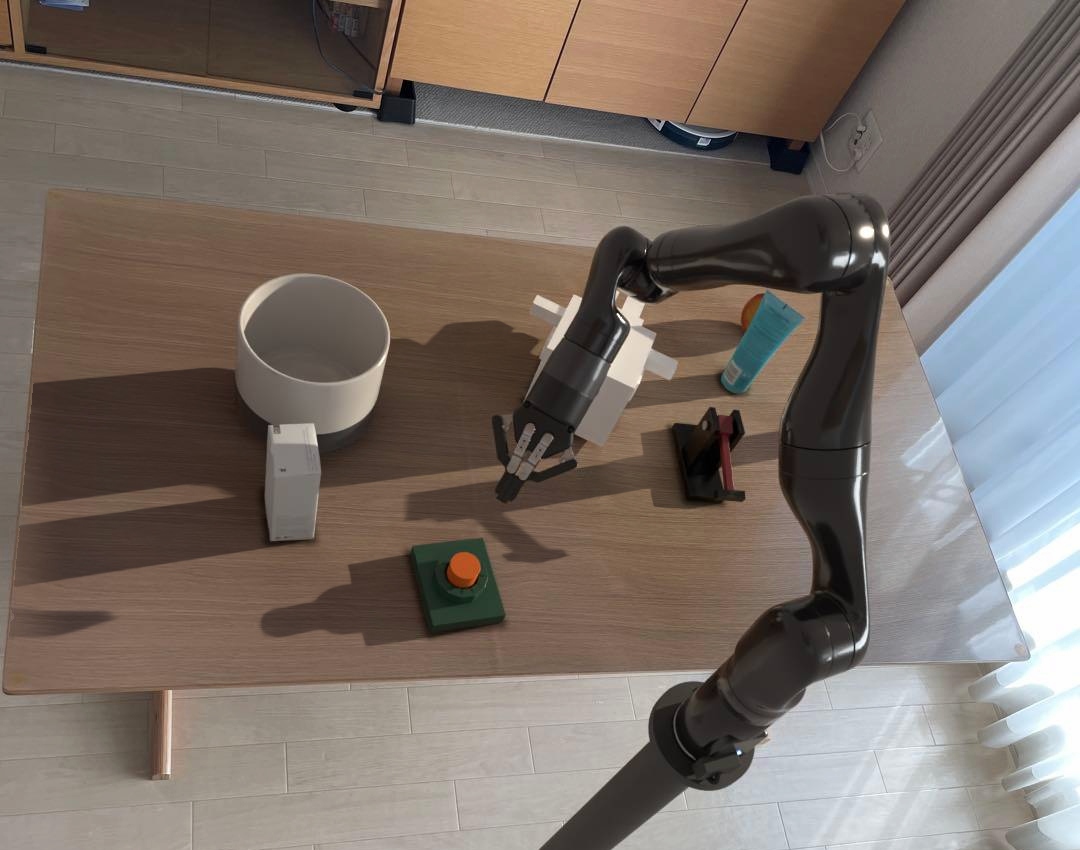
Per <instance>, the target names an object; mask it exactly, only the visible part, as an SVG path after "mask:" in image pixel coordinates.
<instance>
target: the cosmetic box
mask: <svg viewBox="0 0 1080 850" xmlns="http://www.w3.org/2000/svg"><path fill="white" fill-rule="evenodd" d="M321 476H322V467H321V458H320V453H319V451H318V445H317V438H316V432H315V427H314V424H313V423H307V424H283V425H268V438H267V442H266V461H265V480H264V481H265V482H264V506H265V513H266V520H267V521H266V522H267V528H268V533H269V541H270V542H279V541H306V540H313V539H314V538H315V529H316V521H317V513H318V503H319V502H318V501H319V493H320V484H321V483H320V482H321Z"/></svg>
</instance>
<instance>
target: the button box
mask: <svg viewBox="0 0 1080 850" xmlns="http://www.w3.org/2000/svg"><path fill="white" fill-rule="evenodd" d="M485 543H486V542H485V539H484V538H483V537H479V538H470V539H469V538H468V539H459V540H452V541H451V540H450V541H442V542H434V543H433V542H432V543H425V544H424V543H423V544H416V545H414V544H413V545H412V546H411V550H410V552H409V556H410V560H411V563H412V567H413V571H414V575H415V580H416V583H417V588H418V591H419V595H420V599H421V603H422V607H423V611H424V616H425V619H426V623H427V627H428V630H429V633H430V634H432V633H440V632H446V631H453V630H459V629H467V628H474V627H479V626H480V627H481V626H487V625H495V624H501V623H503V622H504V619H505V618H506V615H507V614H506V610H505V608H504V604H503V600H502V597H501V594H500V590H499V586H498V584H497V580H496V577H495V574H494V569H493V567H492V563H491V561H490V557H489V553H488V550H487V547H486V544H485ZM461 552H467V553H470V554H472V555H474V556H475V557H476V558H477V559H478V561H479V563H480V572H479V574H478V576H477V578H476V580H475V582H474V584H473V585H472V586H470V587H468V588H458V587H455V586H454V585H452V584H451V583H450V582H449V580H448V578H447V575H446V572H447V568H448V566H449V563H450V561H451V559H452V557H453V556H454V555H456V554H457V553H461Z"/></svg>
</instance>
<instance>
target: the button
mask: <svg viewBox="0 0 1080 850" xmlns="http://www.w3.org/2000/svg"><path fill="white" fill-rule="evenodd" d="M479 572H480V563H479V561H478V559H477V558H476V557H475V556H474V555H472V554H470V553H467V552H461V553H457V554H456V555H454V556H453V557H452V559H451V561H450V563H449V566H448V568H447V572H446V575H447V578H448V580H449V582H450V583H451V584H452V585H454V586H455V587H458V588H468V587H470V586H472V585H473V584H474V582H475V580H476V578H477V576H478V574H479Z"/></svg>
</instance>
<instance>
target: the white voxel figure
mask: <svg viewBox="0 0 1080 850" xmlns="http://www.w3.org/2000/svg"><path fill="white" fill-rule="evenodd" d="M619 294H620V290H618V289H617V290H616V297H615V302H616V301H617V298H618V296H619ZM581 301H582V297H581V296H579V295H576V294H573V295H572V297H571V300H570V301H569V303H568V305H567V307H565V306H562V305H561V304H557V303H556V302H553V301H551V300H550V299H547V298H545V297H543V296H541V295H539V294H537V295H536V296H535V298H534V300H533V301H532V304H531V306H530V309H529V312H528V315H530V316H532V317H534V318H537V319H538V320H540V321H543V322H545V323H546V324H549V325H551V326H553V327H552V329H551V330H550V333H549V334H548V336H547V339H546V341H545V343H544V346H543V348H542V350H541V352H540V355H539V357H538V360H540V363H539V364H538V366H537V369H536V372H535V374H534V377H533V379H532V381H531V383H530V386H529V388H528V391H527V393H526V395H525V397H524V400H523V402H522V404H523V403H524V401H525V399H526V397H527V396H528V394H529V392H530V390H531V389H532V387H533V385H534V383H535V381H536V380H537V378H538V376H539V374H540V373H541V371H542V369H543V367H544V366H545V364H546V362H547V360H548V358H549V357H550V355H551V353H552V352H553V350H554V349H555V347H556V346H557V345H558V344H559V342H560V341H561V339H562V338H563V337H564V334H565V332H566V331H567V329H568V327H569V325H570V324H571V322H572V320H573V318H574V317H575V315H576V313H577V311H578V309H579V306H580V304H581ZM645 305H646V304H644V303H640V302H638V301H636V300H634V299H633V298H631V297H629V296H628V295H627V297H626V299H625V301H624V303H623V306H621V307H622V308H620V307H618V306H616V307H617V309H618V310H619V311H620V312H621V313H622V315H623V316H624V317H625V318H626V319H627V320H628V321H629V323H630V332H629V335H628V337H627V339H626V340H625V342H624V344H623V346H622V347H621V349H620V351H619V353H618V354H617V356H616V358H615V360H614V361H613V363H612V364H611V367H610V369H609V371H608V373H607V376H606V378H605V381H604V383H603V385H602V386H601V388H600V391H599V393H598V395H597V396H596V397H595V398H594V400H593V402H592V404H591V405H590V407H589V409H588V411H587V412H586V414H585V416H584V418H583V419H582V421H581V423H580V425H579V426H578V428H577V430H576V432H575V434H574V436H575V435H576V436H578V437H580V438H581V439H584V440H586V441H588V442H590V443H592V444H594V445H596V446H599V447H601V448H604V447H605V446H606V443H607V442H608V440H609V438H610V437H611V434H612V432H613V431H614V430H615V427H616V425H617V423H618V421H619V419H620V418H621V416H622V414H623V412H624V410H625V408H626V406H627V405H628V403H629V402H631V401H632V398H633V397H634V395H635V393H636V391H637V389H638V387H639V385H640V383H641V381H642V378H643V376H644V373H645V371H646V370H647V371H648V372H650V373H652V374H655V375H657V376H659V377H661V378H663V379H666V380H668V381H671V379H672V378H673V376H674V374H675V373H676V371H677V368H678V366H679V362H680V361H678V360H677V359H674V358H672V357H670V356H668V355H665V354H664V353H662V352H659V351H658V350H655V349H653V348H652V347H653V344H654V342H655V340H656V337H657V334H658V333H657V332H654V331H653V330H650V329H648V328H647V327H644V326H643V324H644V321H645V319H643V318H641V314H642V312H643V309H644V307H645Z"/></svg>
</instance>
